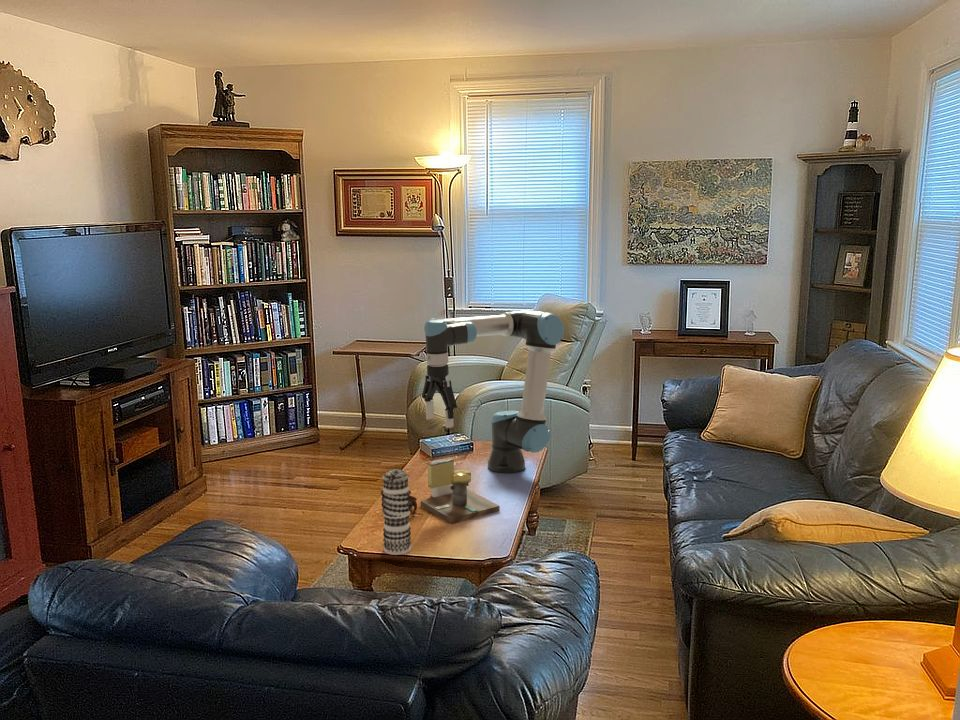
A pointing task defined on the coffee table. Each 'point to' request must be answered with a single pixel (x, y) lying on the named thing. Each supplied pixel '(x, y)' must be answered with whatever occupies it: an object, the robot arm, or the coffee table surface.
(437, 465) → the cap
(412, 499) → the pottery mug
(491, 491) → the coffee table surface
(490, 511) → the post plinth
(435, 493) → the candle holder
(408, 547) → the decorative candle
